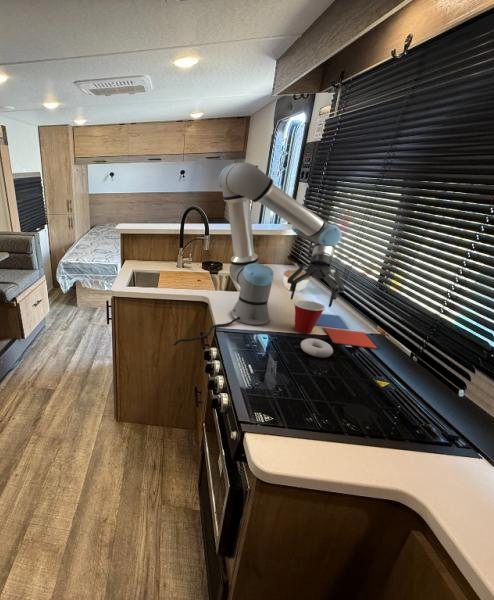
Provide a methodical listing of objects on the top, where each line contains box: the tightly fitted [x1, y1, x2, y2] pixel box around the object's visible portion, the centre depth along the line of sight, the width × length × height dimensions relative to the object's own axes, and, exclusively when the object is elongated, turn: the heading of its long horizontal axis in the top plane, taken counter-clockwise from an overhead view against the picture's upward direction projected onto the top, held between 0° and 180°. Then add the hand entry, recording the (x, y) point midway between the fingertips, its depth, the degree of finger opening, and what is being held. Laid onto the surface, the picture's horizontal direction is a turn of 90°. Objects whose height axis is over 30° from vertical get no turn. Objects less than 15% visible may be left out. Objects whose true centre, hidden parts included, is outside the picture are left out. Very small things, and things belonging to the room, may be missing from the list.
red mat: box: [323, 327, 378, 350], centre depth 120 cm, size 12×14×1 cm
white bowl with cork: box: [282, 269, 312, 293], centre depth 165 cm, size 13×13×11 cm
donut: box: [300, 338, 334, 359], centre depth 111 cm, size 10×4×10 cm
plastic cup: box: [293, 299, 326, 335], centre depth 123 cm, size 11×11×12 cm
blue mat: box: [315, 313, 349, 330], centre depth 134 cm, size 12×14×1 cm
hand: (310, 301), depth 126 cm, fingers open, 13 cm apart
